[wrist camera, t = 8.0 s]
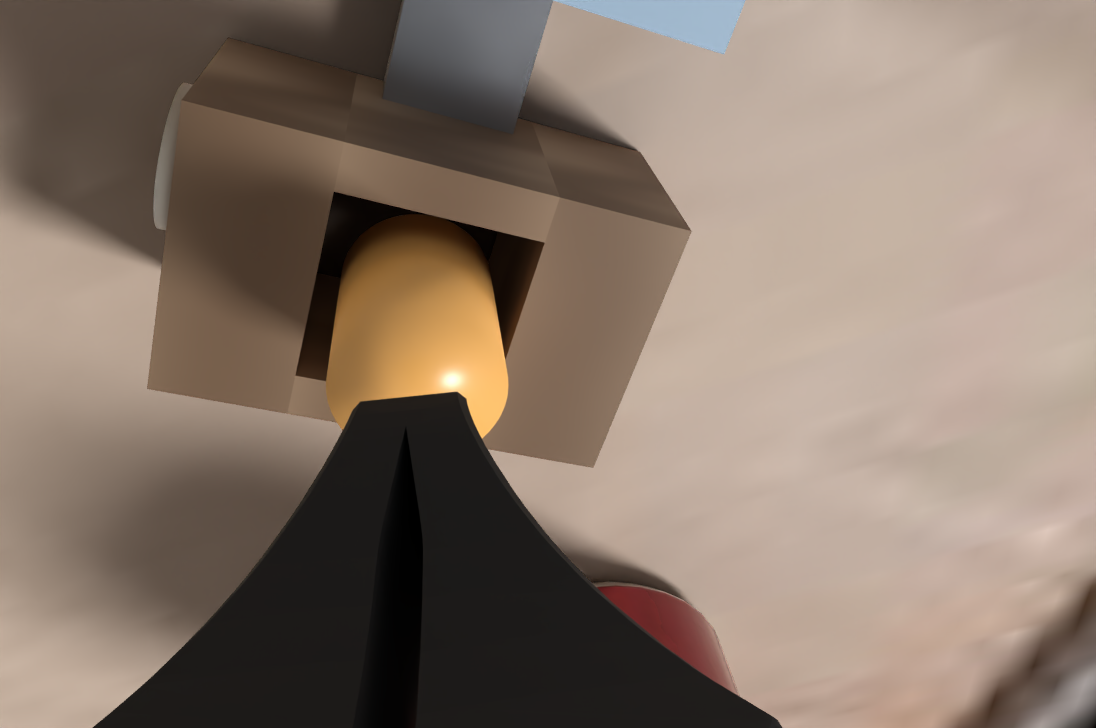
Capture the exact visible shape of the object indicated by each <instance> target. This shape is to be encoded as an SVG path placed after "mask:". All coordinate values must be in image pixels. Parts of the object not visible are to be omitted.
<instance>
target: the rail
mask: <svg viewBox="0 0 1096 728" xmlns="http://www.w3.org/2000/svg"><path fill="white" fill-rule="evenodd" d="M552 2H553V0H402V2H401V7H400V11H399V16H398V20H397V25H396V29H395V33H394V38H393V42H392V47H391V51H390V56H389V60H388V65H387V69H386V74H385V78H384V86H383V97H382V99H385V100H389V101H392V102H396V103H400V104H403V105H407V106H411V107H415V108H418V109H422V110H426V111H429V112H433V113H437V114H440V115H444V116H448V117H451V118H455V119H459V120H462V121H466V122H470V123H473V124H477V125H481V126H484V127H488V128H492V129H495V130H499V131H503V132H506V133H510V134H513V133H514V129H515V126H516V122H517V119H518V116H519V112H520V109H521V106H522V102H523V99H524V96H525V92H526V89H527V86H528V82H529V79H530V76H531V72H532V69H533V66H534V62H535V59H536V56H537V52H538V49H539V45H540V42H541V39H542V35H543V32H544V29H545V25H546V22H547V19H548V15H549V12H550V9H551V5H552Z"/></svg>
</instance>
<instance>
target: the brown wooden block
mask: <svg viewBox="0 0 1096 728" xmlns="http://www.w3.org/2000/svg"><path fill="white" fill-rule="evenodd" d="M383 86H384V81H383V80H379V79H375V78H372V77H368V76H365V75H361V74H357V73H354V72H350V71H347V70H343V69H339V68H336V67H332V66H329V65H325V64H321V63H318V62H314V61H311V60H307V59H303V58H300V57H296V56H293V55H289V54H285V53H282V52H278V51H275V50H271V49H267V48H264V47H260V46H257V45H253V44H249V43H246V42H242V41H239V40H235V39H231V38H228V39H227V40H226V41H225V43H224V44H223V45H222V47H221V48H220V49H219V51H218V52H217V53H216V55H215V56H214V57H213V59H212V60H211V61H210V63H209V64H208V65H207V67H206V68H205V69H204V71H203V72H202V73H201V75H200V76H199V77H198V79H197V80H196V81H195V83H194V84H193V85H192V84H189V83H185V82H184V83H182V84H181V85H180V87H179V88H178V90H177V92H176V94H175V96H174V99H173V102H172V104H171V107H170V111H169V114H168V117H167V121H166V125H165V129H164V133H163V137H162V142H161V147H160V152H159V158H158V164H157V170H156V178H155V187H154V201H153V215H154V223H155V226H156V228H157V229H162V230H166V234H165V243H164V251H163V260H162V268H161V276H160V285H159V293H158V302H157V310H156V319H155V327H154V335H153V344H152V352H151V361H150V369H149V377H148V386H147V389H151V390H157V391H162V392H168V393H174V394H179V395H185V396H191V397H196V398H202V399H208V400H213V401H219V402H225V403H230V404H236V405H242V406H247V407H253V408H258V409H264V410H270V411H275V412H281V413H287V414H292V415H298V416H304V417H309V418H315V419H321V420H326V421H332V422H336V420H335V418H334V416H333V414H332V413H331V410H330V407H329V404H328V400H327V395H326V378H327V371H328V364H329V357H330V350H331V343H332V336H333V329H334V322H335V315H336V308H337V301H338V294H339V287H340V280H341V278H338V277H333V276H329V275H324V274H320V273H317V270H318V265H319V260H320V255H321V251H322V246H323V241H324V236H325V231H326V227H327V222H328V217H329V212H330V208H331V203H332V198H333V193H334V192H338V193H342V194H346V195H350V196H354V197H358V198H363V199H367V200H371V201H375V202H379V203H383V204H387V205H391V206H396V207H400V208H404V209H408V210H412V211H416V212H420V213H424V214H429V215H433V216H437V217H441V218H445V219H449V220H453V221H457V222H462V223H466V224H470V225H474V226H478V227H482V228H486V229H490V230H495V231H498V233H497V236H496V240H495V243H494V246H493V249H492V253H491V256H490V259H489V262H488V265H489V269H490V274H491V280H492V286H493V291H494V297H495V303H496V309H497V315H498V321H499V327H500V333H501V338H502V344H503V350H504V356H505V362H506V368H507V374H508V386H509V387H508V396H507V400H506V404H505V407H504V409H503V412H502V414H501V416H500V418H499V419H498V421H497V423H496V424H495V425H494V427H493V428H492V429H491V430H490V431H489V432H488V433H487V434H486V435H485V436H484V437H483V438H482V440H483V442H484V444H485V446H486V448H487V449H490V450H496V451H502V452H507V453H513V454H518V455H524V456H530V457H535V458H541V459H547V460H552V461H558V462H564V463H569V464H575V465H581V466H586V467H592V468H593V467H594V465H595V462H596V460H597V457H598V455H599V453H600V450H601V448H602V445H603V443H604V441H605V438H606V436H607V433H608V431H609V428H610V426H611V424H612V421H613V419H614V416H615V414H616V412H617V409H618V407H619V404H620V402H621V400H622V397H623V395H624V392H625V390H626V388H627V385H628V383H629V380H630V378H631V376H632V373H633V371H634V368H635V366H636V364H637V361H638V359H639V356H640V354H641V352H642V349H643V347H644V344H645V342H646V340H647V337H648V335H649V332H650V330H651V328H652V325H653V323H654V320H655V318H656V316H657V313H658V311H659V308H660V306H661V304H662V301H663V299H664V296H665V294H666V292H667V289H668V287H669V284H670V282H671V280H672V277H673V275H674V272H675V270H676V268H677V265H678V263H679V260H680V258H681V256H682V253H683V251H684V248H685V246H686V244H687V241H688V239H689V236H690V234H691V232H692V231H691V230H690V228H689V227H688V225H687V223H686V222H685V220H684V219H683V217H682V216H681V214H680V213H679V211H678V210H677V208H676V207H675V205H674V203H673V202H672V200H671V199H670V197H669V196H668V194H667V193H666V191H665V190H664V188H663V187H662V185H661V183H660V182H659V180H658V179H657V177H656V176H655V174H654V173H653V171H652V170H651V168H650V166H649V165H648V163H647V162H646V160H645V159H644V157H643V156H642V154H641V153H640V152H638V151H635V150H631V149H627V148H624V147H620V146H617V145H613V144H609V143H606V142H602V141H599V140H595V139H591V138H588V137H584V136H581V135H577V134H573V133H570V132H566V131H563V130H559V129H555V128H552V127H548V126H545V125H541V124H537V123H534V122H530V121H527V120H523V119H519V118H518V119H517V122H516V126H515V129H514V133H513V134H510V133H506V132H503V131H499V130H495V129H492V128H488V127H484V126H481V125H477V124H473V123H470V122H466V121H462V120H459V119H455V118H451V117H448V116H444V115H440V114H437V113H433V112H429V111H426V110H422V109H418V108H415V107H411V106H407V105H403V104H400V103H396V102H392V101H389V100H385V99H382V97H383Z"/></svg>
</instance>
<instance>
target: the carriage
mask: <svg viewBox="0 0 1096 728" xmlns="http://www.w3.org/2000/svg"><path fill="white" fill-rule="evenodd" d="M553 1H557V2H560V3H563V4H566V5H569V6H572V7H576V8H579V9H582V10H585V11H588V12H591V13H595V14H598V15H601V16H604V17H607V18H610V19H614V20H617V21H620V22H623V23H626V24H629V25H633V26H636V27H639V28H642V29H645V30H648V31H651V32H655V33H658V34H661V35H664V36H667V37H670V38H674V39H677V40H680V41H683V42H686V43H689V44H693V45H696V46H699V47H702V48H705V49H708V50H712V51H715V52H718V53H721V54H724V53H725V51H726V48H727V46H728V43H729V41H730V38H731V36H732V33H733V31H734V28H735V25H736V23H737V20H738V18H739V15H740V13H741V10H742V8H743V5H744V3H745V0H553Z"/></svg>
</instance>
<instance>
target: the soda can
mask: <svg viewBox="0 0 1096 728" xmlns="http://www.w3.org/2000/svg"><path fill="white" fill-rule="evenodd" d="M593 584H594V585H595V586H596V587H597V588H598V589H599V590H600V591H601V592H602V593H603V594H604V595H605V596H606V597H607V598H608V599H609V600H610V601H611V602H613V603H614V604H615V605H616V606H617V607H618V608H620V609H621V610H622V611H623V612H624V613H626V614H627V615H628V616H629V617H630V618H632V619H633V620H634V621H635V622H636V623H638V624H639V625H640V626H641V627H642V628H644V629H645V630H646V631H647V632H648V633H650V634H651V635H652V636H653V637H654V638H656V639H657V640H658V641H659V642H661V643H662V644H663V645H664V646H665V647H667V648H668V649H669V650H671V651H672V652H674V653H675V654H676V655H678V656H679V657H680V658H682V659H683V660H685V661H686V662H687V663H689V664H690V665H692V666H693V667H694V668H696V669H697V670H698V671H700V672H701V673H703V674H704V675H705V676H707V677H708V678H710V679H711V680H713V681H715V682H716V683H718V684H720V685H721V686H723V687H725V688H726V689H728V690H730V691H731V692H733V693H734V694H736V695H738V696H739V697H740V695H739V693H738V690H737V687H736V684H735V682H734V679H733V676H732V674H731V671H730V668H729V665H728V663H727V660H726V657H725V655H724V652H723V649H722V646H721V644H720V642H719V639H718V637H717V635H716V632H715V630H714V629H713V627H712V626H711V625H710V623H709V622H708V621H707V620H706V618H705V617H704V616H703V615H702V614H701V613H700V612H699V611H698V610H696V609H695V608H694V607H692V606H691V605H689V604H688V603H687V602H685V601H684V600H682V599H680V598H678V597H676V596H673V595H671V594H669V593H667V592H664V591H662V590H658V589H655V588H651V587H647V586H643V585H639V584H634V583H624V582H598V583H593Z"/></svg>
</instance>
